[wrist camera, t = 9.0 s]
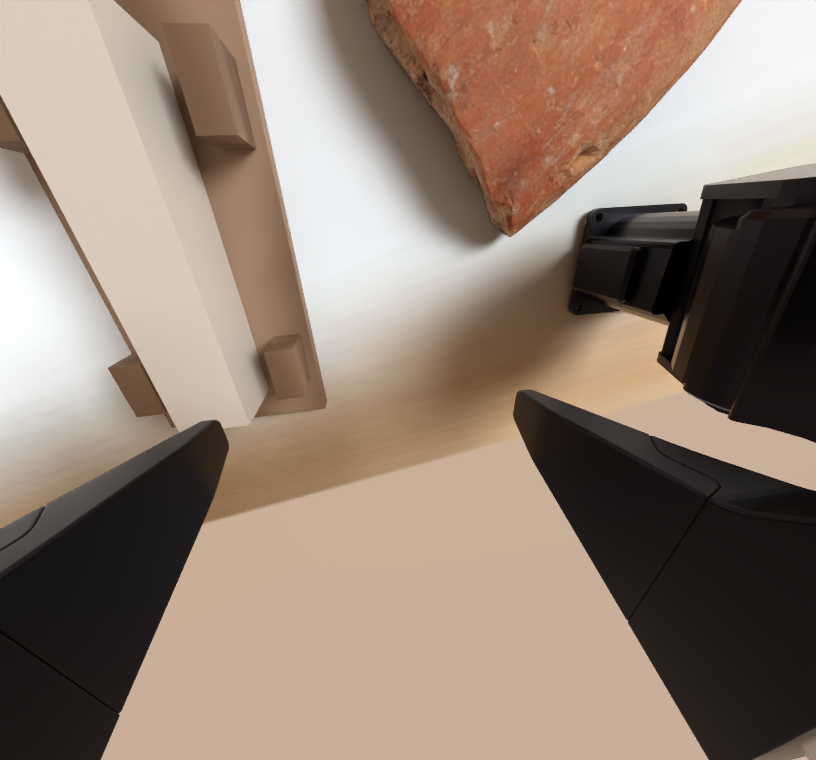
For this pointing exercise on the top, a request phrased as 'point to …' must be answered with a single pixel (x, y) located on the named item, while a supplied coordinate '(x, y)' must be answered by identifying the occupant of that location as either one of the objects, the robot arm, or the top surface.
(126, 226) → the clay strip
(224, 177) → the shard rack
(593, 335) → the top surface
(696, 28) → the ceramic shard
